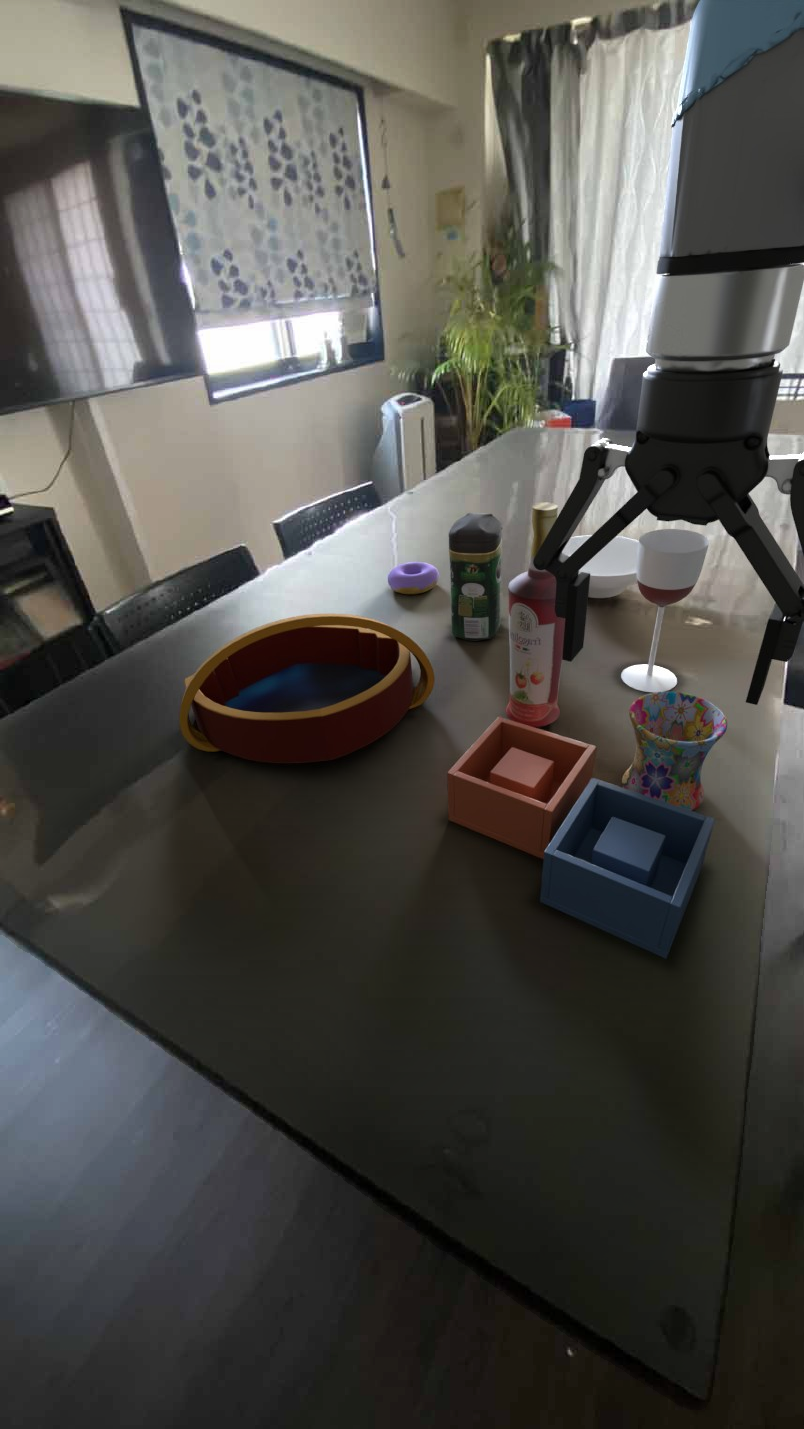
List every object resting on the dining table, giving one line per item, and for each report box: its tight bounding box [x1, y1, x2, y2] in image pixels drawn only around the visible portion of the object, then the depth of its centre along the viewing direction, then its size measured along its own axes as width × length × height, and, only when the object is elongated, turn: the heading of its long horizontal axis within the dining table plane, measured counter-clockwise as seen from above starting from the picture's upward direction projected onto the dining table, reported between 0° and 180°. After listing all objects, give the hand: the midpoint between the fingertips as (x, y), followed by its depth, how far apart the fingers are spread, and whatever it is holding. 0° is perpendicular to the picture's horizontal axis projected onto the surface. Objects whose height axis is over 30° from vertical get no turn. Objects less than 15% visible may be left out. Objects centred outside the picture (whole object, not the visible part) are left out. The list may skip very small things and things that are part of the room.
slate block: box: [591, 817, 666, 887], centre depth 59 cm, size 5×5×5 cm
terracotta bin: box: [446, 716, 597, 860], centre depth 69 cm, size 12×12×7 cm
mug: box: [621, 691, 728, 811], centre depth 69 cm, size 12×9×11 cm
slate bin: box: [539, 777, 716, 959], centre depth 59 cm, size 12×12×7 cm
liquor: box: [505, 501, 565, 729], centre depth 76 cm, size 7×7×28 cm
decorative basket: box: [178, 613, 435, 764], centre depth 84 cm, size 34×29×15 cm
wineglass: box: [620, 528, 710, 693], centre depth 85 cm, size 8×9×20 cm
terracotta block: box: [490, 747, 554, 804], centre depth 69 cm, size 5×5×5 cm
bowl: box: [562, 534, 639, 599], centre depth 113 cm, size 20×20×7 cm
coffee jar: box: [448, 512, 503, 642], centre depth 101 cm, size 10×8×19 cm
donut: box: [387, 561, 440, 595], centre depth 121 cm, size 10×9×5 cm
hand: (657, 673), depth 49 cm, fingers open, 13 cm apart
